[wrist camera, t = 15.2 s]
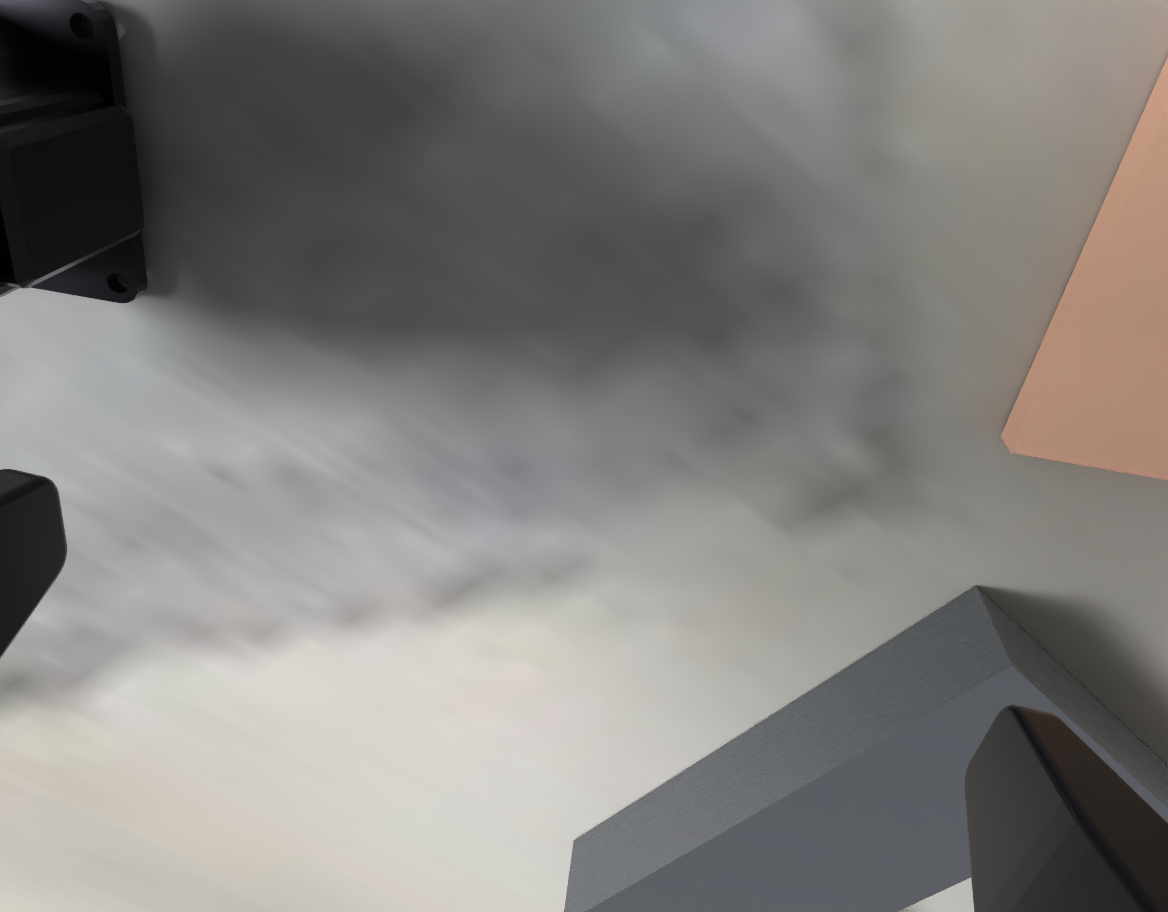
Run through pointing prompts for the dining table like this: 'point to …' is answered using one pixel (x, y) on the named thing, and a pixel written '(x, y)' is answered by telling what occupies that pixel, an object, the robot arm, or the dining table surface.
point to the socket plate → (848, 783)
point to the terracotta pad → (1110, 328)
